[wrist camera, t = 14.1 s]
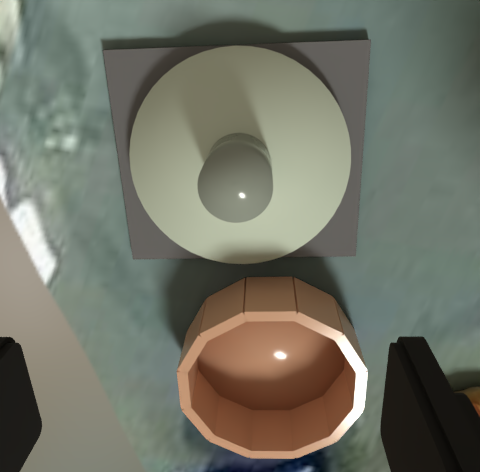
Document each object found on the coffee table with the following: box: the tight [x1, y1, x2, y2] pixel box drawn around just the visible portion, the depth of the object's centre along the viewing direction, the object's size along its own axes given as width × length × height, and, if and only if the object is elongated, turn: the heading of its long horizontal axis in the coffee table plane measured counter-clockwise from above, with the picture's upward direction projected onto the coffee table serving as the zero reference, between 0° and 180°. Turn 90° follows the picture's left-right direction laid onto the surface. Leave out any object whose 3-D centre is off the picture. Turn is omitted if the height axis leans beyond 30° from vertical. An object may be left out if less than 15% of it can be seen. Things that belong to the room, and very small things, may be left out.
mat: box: [103, 40, 371, 259], centre depth 32 cm, size 17×15×1 cm
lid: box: [129, 46, 351, 264], centre depth 29 cm, size 15×15×6 cm
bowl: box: [177, 277, 368, 459], centre depth 37 cm, size 14×14×5 cm
